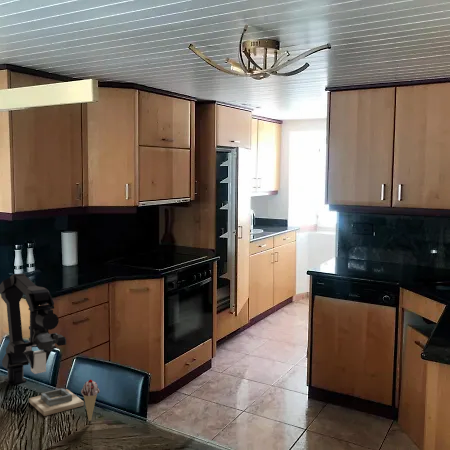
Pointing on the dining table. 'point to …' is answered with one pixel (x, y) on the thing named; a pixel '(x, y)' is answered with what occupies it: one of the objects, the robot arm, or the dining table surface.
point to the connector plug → (39, 362)
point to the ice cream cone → (90, 396)
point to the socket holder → (55, 401)
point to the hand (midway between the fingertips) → (38, 367)
